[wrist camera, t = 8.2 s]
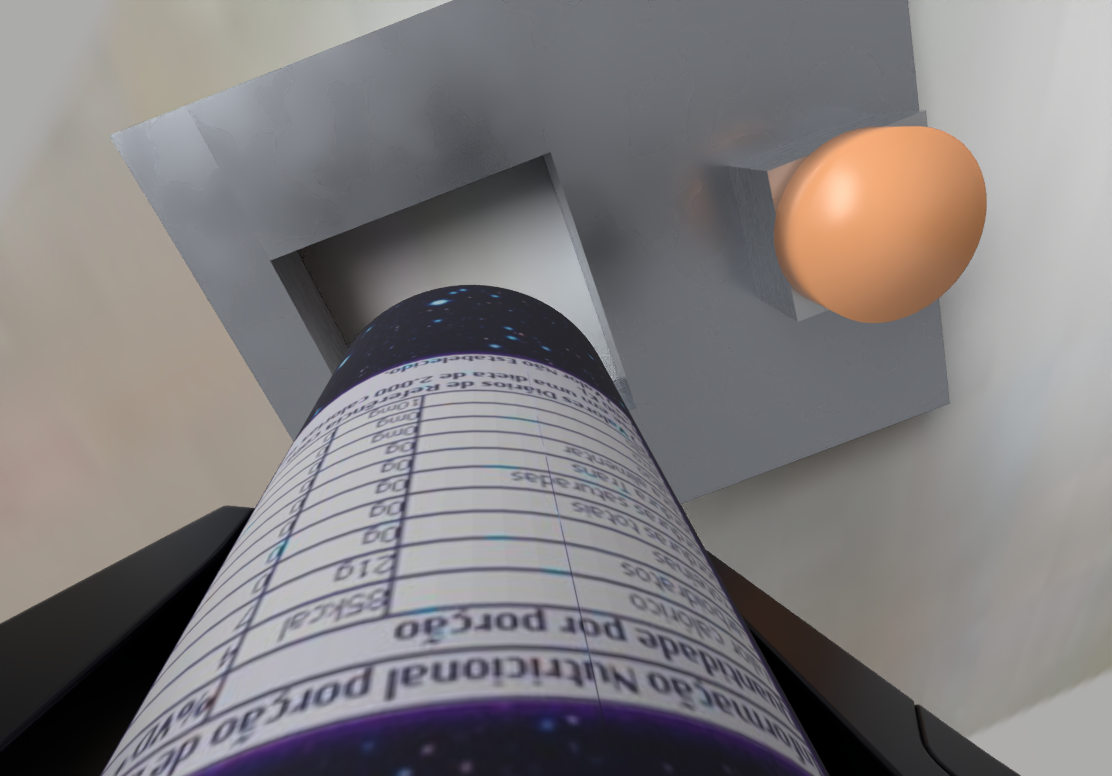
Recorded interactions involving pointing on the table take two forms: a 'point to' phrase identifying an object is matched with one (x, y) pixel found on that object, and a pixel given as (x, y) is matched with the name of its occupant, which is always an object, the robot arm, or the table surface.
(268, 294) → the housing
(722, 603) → the beverage can
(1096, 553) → the table surface
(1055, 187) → the table surface
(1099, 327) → the table surface
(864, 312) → the peach dome cap
